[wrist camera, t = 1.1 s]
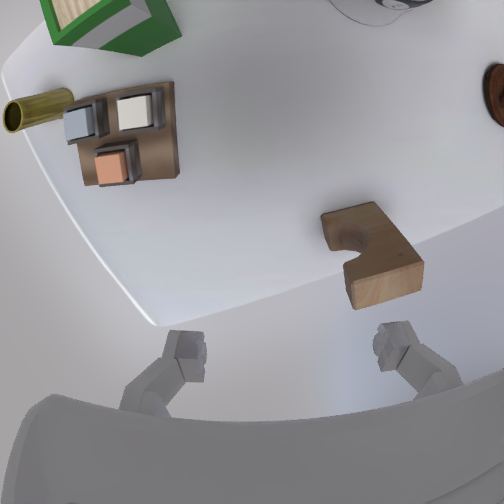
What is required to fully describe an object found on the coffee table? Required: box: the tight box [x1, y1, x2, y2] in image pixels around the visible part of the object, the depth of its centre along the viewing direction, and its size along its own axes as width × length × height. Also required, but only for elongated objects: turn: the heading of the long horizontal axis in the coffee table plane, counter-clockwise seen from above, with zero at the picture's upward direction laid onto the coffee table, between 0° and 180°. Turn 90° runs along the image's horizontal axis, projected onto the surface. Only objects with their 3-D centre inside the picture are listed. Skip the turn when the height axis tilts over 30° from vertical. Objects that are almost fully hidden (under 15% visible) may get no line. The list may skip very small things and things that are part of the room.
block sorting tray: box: [63, 82, 180, 187], centre depth 39 cm, size 16×18×7 cm
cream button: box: [117, 95, 154, 130], centre depth 34 cm, size 4×4×3 cm
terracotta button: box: [95, 149, 129, 184], centre depth 38 cm, size 4×4×3 cm
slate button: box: [63, 107, 95, 141], centre depth 34 cm, size 4×4×3 cm
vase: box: [3, 88, 74, 133], centre depth 32 cm, size 6×6×14 cm
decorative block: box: [321, 202, 424, 310], centre depth 43 cm, size 11×6×20 cm, turn 106°
